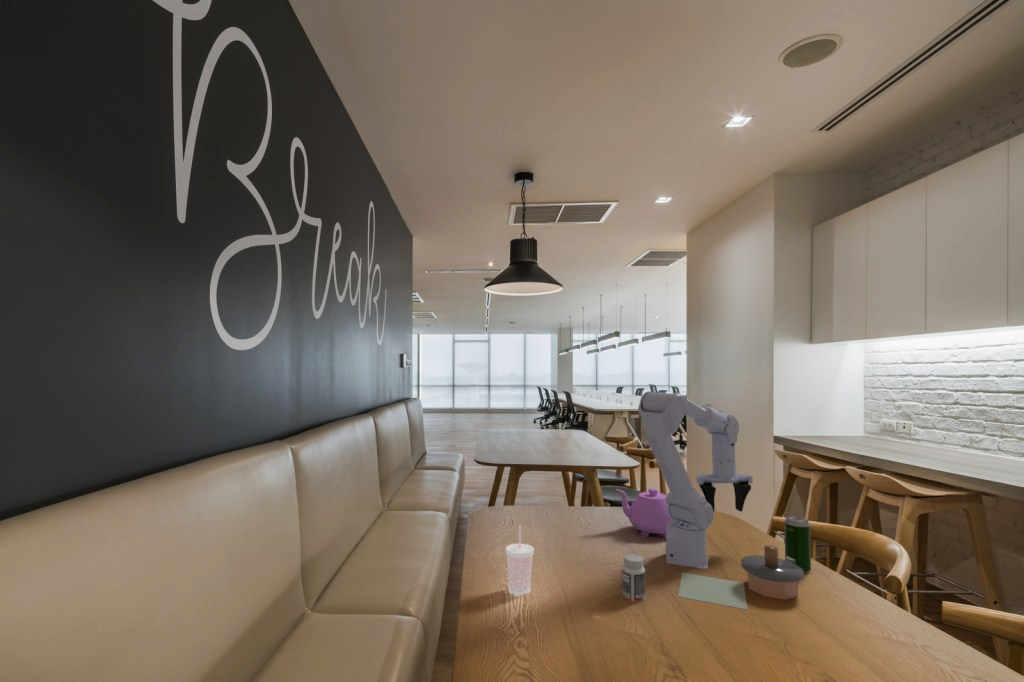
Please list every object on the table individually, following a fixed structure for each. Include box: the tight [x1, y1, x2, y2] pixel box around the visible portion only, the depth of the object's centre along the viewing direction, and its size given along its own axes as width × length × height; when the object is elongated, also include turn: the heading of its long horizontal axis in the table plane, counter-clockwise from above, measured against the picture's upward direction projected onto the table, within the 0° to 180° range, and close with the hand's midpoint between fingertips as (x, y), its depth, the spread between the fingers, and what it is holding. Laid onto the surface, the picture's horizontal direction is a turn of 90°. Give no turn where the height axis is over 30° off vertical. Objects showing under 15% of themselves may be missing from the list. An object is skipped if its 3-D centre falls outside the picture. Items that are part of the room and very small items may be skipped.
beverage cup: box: [505, 524, 535, 595], centre depth 103 cm, size 6×6×14 cm
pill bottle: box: [621, 553, 647, 603], centre depth 100 cm, size 5×5×8 cm
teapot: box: [615, 487, 672, 538], centre depth 141 cm, size 20×14×12 cm
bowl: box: [746, 571, 799, 600], centre depth 104 cm, size 9×9×4 cm
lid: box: [740, 544, 805, 582], centre depth 104 cm, size 12×12×5 cm
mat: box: [677, 572, 748, 610], centre depth 103 cm, size 13×13×1 cm
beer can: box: [783, 515, 812, 574], centre depth 115 cm, size 5×5×12 cm
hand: (725, 510), depth 127 cm, fingers open, 7 cm apart
